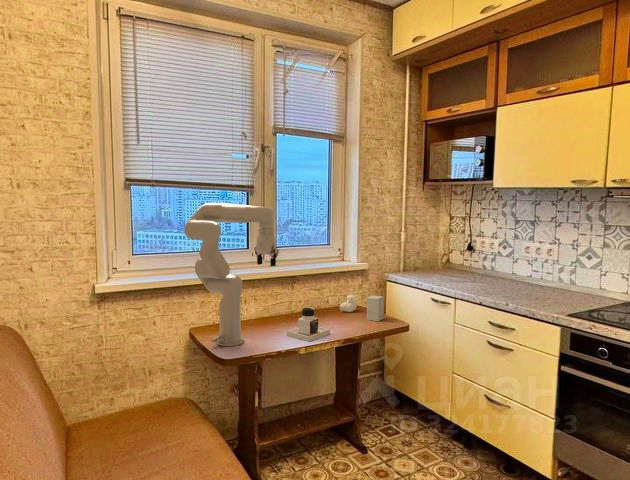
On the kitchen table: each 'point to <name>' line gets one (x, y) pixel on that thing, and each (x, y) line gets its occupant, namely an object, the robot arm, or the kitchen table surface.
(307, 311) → the medicine bottle
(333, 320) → the kitchen table surface
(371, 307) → the supplement box
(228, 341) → the robot arm
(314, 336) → the tray
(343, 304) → the bust
